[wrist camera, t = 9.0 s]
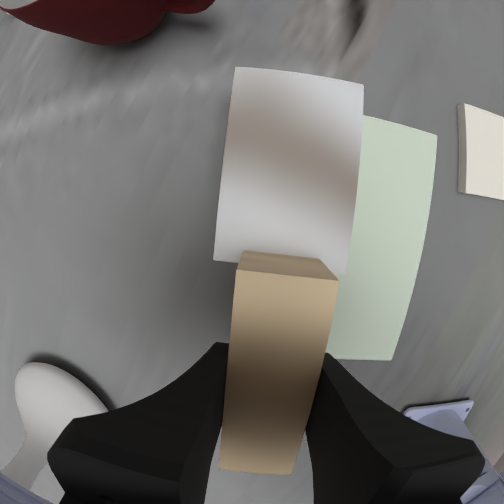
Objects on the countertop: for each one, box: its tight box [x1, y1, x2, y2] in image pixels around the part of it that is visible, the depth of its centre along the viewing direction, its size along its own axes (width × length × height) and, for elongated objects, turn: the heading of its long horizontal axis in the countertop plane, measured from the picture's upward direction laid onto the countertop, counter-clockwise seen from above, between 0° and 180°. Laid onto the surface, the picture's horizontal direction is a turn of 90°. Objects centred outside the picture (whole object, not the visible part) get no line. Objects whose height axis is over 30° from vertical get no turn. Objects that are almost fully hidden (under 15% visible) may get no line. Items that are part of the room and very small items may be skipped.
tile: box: [457, 103, 504, 200], centre depth 16 cm, size 1×6×6 cm
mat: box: [325, 115, 437, 360], centre depth 17 cm, size 15×8×1 cm, turn 174°
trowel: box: [213, 67, 364, 475], centre depth 10 cm, size 15×5×4 cm, turn 174°
